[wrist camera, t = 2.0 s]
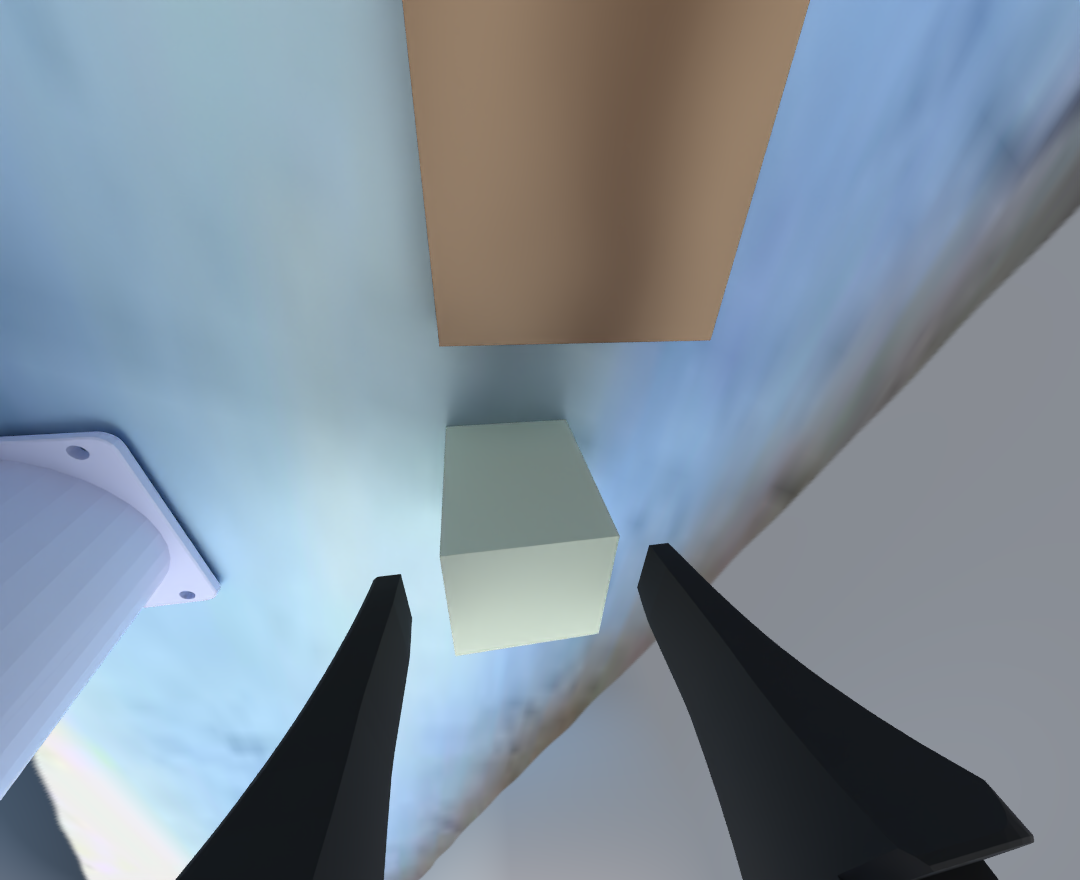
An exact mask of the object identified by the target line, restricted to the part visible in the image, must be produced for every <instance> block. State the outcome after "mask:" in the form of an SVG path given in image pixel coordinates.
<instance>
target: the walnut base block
mask: <svg viewBox="0 0 1080 880" xmlns="http://www.w3.org/2000/svg"><path fill="white" fill-rule="evenodd" d="M402 2H403V11H404V20H405V30H406V39H407V48H408V58H409V67H410V76H411V86H412V95H413V104H414V114H415V123H416V132H417V142H418V151H419V160H420V170H421V179H422V188H423V198H424V207H425V216H426V226H427V235H428V244H429V254H430V263H431V272H432V282H433V291H434V300H435V310H436V319H437V328H438V338H439V346H480V345H524V344H568V343H612V342H656V341H700V340H711V336H712V333H713V329H714V326H715V323H716V319H717V316H718V312H719V309H720V305H721V302H722V299H723V295H724V292H725V288H726V285H727V282H728V278H729V275H730V271H731V268H732V265H733V261H734V258H735V254H736V251H737V247H738V244H739V241H740V237H741V234H742V230H743V227H744V224H745V220H746V217H747V213H748V210H749V207H750V203H751V200H752V196H753V193H754V189H755V186H756V183H757V179H758V176H759V172H760V169H761V166H762V162H763V159H764V155H765V152H766V149H767V145H768V142H769V138H770V135H771V132H772V128H773V125H774V121H775V118H776V114H777V111H778V108H779V104H780V101H781V97H782V94H783V91H784V87H785V84H786V80H787V77H788V74H789V70H790V67H791V63H792V60H793V56H794V53H795V50H796V46H797V43H798V39H799V36H800V33H801V29H802V26H803V22H804V19H805V16H806V12H807V9H808V5H809V2H810V0H402Z"/></svg>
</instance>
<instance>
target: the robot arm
mask: <svg viewBox="0 0 1080 880" xmlns="http://www.w3.org/2000/svg"><path fill="white" fill-rule="evenodd" d="M80 447H82V448H84V449H85V450H86V451H84V450H82V449H81V448H80ZM87 451H88V452H87ZM220 588H221V586H220V584H219V582H218V581H217V579H216V578H215V576H214V575H213V574H212V572H211V571H210V569H209V568H208V566H207V565H206V563H205V562H204V560H203V559H202V557H201V556H200V554H199V553H198V551H197V550H196V548H195V547H194V545H193V544H192V542H191V541H190V540H189V538H188V537H187V535H186V534H185V532H184V531H183V529H182V528H181V526H180V525H179V523H178V522H177V520H176V519H175V517H174V516H173V514H172V513H171V511H170V510H169V508H168V507H167V506H166V504H165V503H164V501H163V500H162V498H161V497H160V495H159V494H158V492H157V491H156V489H155V488H154V486H153V485H152V483H151V482H150V480H149V479H148V477H147V476H146V474H145V473H144V472H143V470H142V469H141V467H140V466H139V464H138V463H137V461H136V460H135V458H134V457H133V455H132V454H131V452H130V451H129V449H128V448H127V446H126V445H125V444H124V443H123V442H122V441H121V439H119V438H118V437H116V436H114V435H112V434H109V433H106V432H78V433H59V434H41V435H22V436H4V437H0V800H1V799H2V798H3V796H4V795H5V794H6V792H7V791H8V790H9V788H10V787H11V785H12V784H13V783H14V781H15V780H16V779H17V777H18V776H19V775H20V773H21V772H22V771H23V769H24V768H25V767H26V765H27V764H28V763H29V761H30V760H31V758H32V757H33V756H34V754H35V753H36V752H37V750H38V749H39V748H40V746H41V745H42V744H43V742H44V741H45V740H46V738H47V737H48V735H49V734H50V733H51V731H52V730H53V729H54V727H55V726H56V725H57V723H58V722H59V721H60V719H61V718H62V717H63V715H64V714H65V713H66V711H67V710H68V708H69V707H70V706H71V704H72V703H73V702H74V700H75V699H76V698H77V696H78V695H79V694H80V692H81V691H82V690H83V688H84V687H85V686H86V684H87V683H88V681H89V680H90V679H91V677H92V676H93V675H94V673H95V672H96V671H97V669H98V668H99V667H100V665H101V664H102V663H103V661H104V660H105V658H106V657H107V656H108V654H109V653H110V652H111V650H112V649H113V648H114V646H115V645H116V644H117V642H118V641H119V640H120V638H121V637H122V636H123V634H124V633H125V631H126V630H127V629H128V627H129V626H130V625H131V623H132V622H133V621H134V619H135V618H136V617H137V615H138V614H139V613H140V611H141V610H142V609H143V608H147V607H155V606H163V605H171V604H179V603H188V602H196V601H204V600H209V599H213V598H214V597H216V595H217V594H218V592H219V590H220ZM637 588H638V592H639V595H640V598H641V601H642V605H643V608H644V611H645V614H646V617H647V620H648V622H649V625H650V627H651V629H652V631H653V634H654V636H655V638H656V640H657V643H658V645H659V647H660V649H661V651H662V654H663V656H664V658H665V660H666V662H667V665H668V667H669V669H670V671H671V673H672V675H673V678H674V680H675V682H676V684H677V687H678V689H679V691H680V693H681V695H682V698H683V700H684V702H685V705H686V707H687V710H688V712H689V714H690V717H691V720H692V722H693V725H694V728H695V731H696V734H697V736H698V739H699V742H700V745H701V748H702V751H703V753H704V756H705V759H706V762H707V765H708V768H709V771H710V774H711V777H712V780H713V783H714V786H715V789H716V792H717V795H718V798H719V801H720V805H721V808H722V811H723V814H724V818H725V821H726V824H727V827H728V831H729V834H730V837H731V840H732V843H733V847H734V850H735V853H736V857H737V861H738V864H739V868H740V871H741V875H742V878H743V880H998V878H997V877H996V876H995V874H994V873H993V872H992V870H991V869H990V868H989V867H988V865H987V864H986V863H985V861H984V859H987V858H990V857H993V856H996V855H998V854H1002V853H1005V852H1008V851H1010V850H1014V849H1017V848H1019V847H1022V846H1025V845H1028V844H1031V843H1033V842H1034V838H1033V835H1032V834H1031V833H1030V831H1029V830H1028V829H1027V828H1026V827H1025V826H1024V824H1022V822H1021V821H1020V820H1019V819H1018V818H1017V817H1016V815H1015V814H1014V813H1013V812H1012V811H1011V810H1010V809H1009V807H1008V806H1007V805H1006V804H1005V803H1004V802H1003V801H1002V799H1001V798H999V796H998V795H997V794H996V793H995V791H994V790H993V789H992V788H991V787H990V786H989V785H988V784H987V783H986V782H985V781H984V780H983V779H981V778H980V777H978V776H976V775H974V774H973V773H971V772H969V771H967V770H966V769H964V768H962V767H961V766H959V765H957V764H955V763H953V762H952V761H950V760H948V759H947V758H945V757H943V756H941V755H940V754H938V753H936V752H934V751H933V750H931V749H929V748H927V747H926V746H924V745H922V744H921V743H919V742H917V741H916V740H914V739H912V738H911V737H909V736H908V735H906V734H904V733H903V732H901V731H900V730H898V729H896V728H894V727H893V726H892V725H890V724H888V723H887V722H885V721H883V720H882V719H880V718H879V717H877V716H876V715H874V714H873V713H871V712H869V711H868V710H867V709H865V708H864V707H862V706H861V705H859V704H858V703H856V702H855V701H853V700H852V699H850V698H849V697H848V696H846V695H845V694H843V693H842V692H840V691H839V690H837V689H836V688H835V687H833V686H832V685H830V684H829V683H827V682H826V681H824V680H823V679H822V678H820V677H819V676H818V675H816V674H815V673H813V672H812V671H811V670H809V669H808V668H807V667H805V666H804V665H803V664H802V663H800V662H799V661H798V660H796V659H795V658H794V657H792V656H791V655H790V654H789V653H787V652H786V651H785V650H783V649H782V648H780V646H778V645H777V644H776V643H775V642H773V641H772V640H771V639H770V638H768V637H767V636H766V635H765V634H764V633H762V631H760V630H759V629H758V628H757V627H756V626H755V625H754V624H752V623H751V622H750V621H749V620H748V619H747V618H745V617H744V616H743V615H742V614H741V613H740V612H739V611H738V610H737V609H736V608H734V607H733V606H732V605H731V604H730V603H729V602H728V601H727V600H726V599H725V598H724V597H723V596H722V595H721V594H720V593H718V592H717V591H716V590H715V589H714V588H713V587H712V586H711V585H710V584H709V583H708V582H707V581H706V580H705V579H704V578H703V577H702V576H701V575H700V574H699V573H698V572H697V571H696V570H695V569H694V568H693V567H692V566H691V565H690V564H689V563H688V562H687V561H686V560H685V559H684V558H683V557H682V556H681V555H680V554H679V553H678V552H677V551H676V550H675V549H674V548H673V547H672V546H671V545H670V544H669V543H665V544H656V545H649V548H648V552H647V555H646V559H645V562H644V566H643V569H642V573H641V576H640V580H639V583H638V587H637ZM411 626H412V616H411V612H410V608H409V605H408V601H407V597H406V593H405V589H404V585H403V581H402V577H401V574H398V575H389V576H381V577H377V578H375V579H374V580H373V583H372V585H371V587H370V589H369V592H368V594H367V596H366V598H365V600H364V602H363V604H362V606H361V608H360V610H359V612H358V614H357V616H356V618H355V620H354V622H353V624H352V626H351V628H350V630H349V631H348V633H347V635H346V637H345V639H344V640H343V642H342V644H341V646H340V648H339V649H338V651H337V653H336V655H335V657H334V658H333V660H332V662H331V664H330V665H329V667H328V669H327V670H326V672H325V674H324V675H323V677H322V679H321V680H320V682H319V683H318V685H317V687H316V688H315V690H314V692H313V693H312V695H311V696H310V698H309V700H308V701H307V703H306V704H305V706H304V708H303V709H302V711H301V712H300V714H299V715H298V717H297V718H296V720H295V721H294V723H293V724H292V726H291V727H290V729H289V730H288V732H287V733H286V735H285V736H284V738H283V739H282V741H281V742H280V744H279V745H278V746H277V748H276V749H275V751H274V752H273V754H272V755H271V756H270V758H269V759H268V761H267V762H266V764H265V765H264V766H263V768H262V769H261V770H260V772H259V773H258V774H257V776H256V777H255V779H254V780H253V781H252V783H251V784H250V785H249V787H248V788H247V789H246V791H245V792H244V793H243V795H242V796H241V797H240V799H239V800H238V802H237V803H236V804H235V806H234V807H233V808H232V809H231V811H230V812H229V813H228V815H227V816H226V817H225V819H224V820H223V821H222V822H221V824H220V825H219V826H218V828H217V829H216V830H215V831H214V833H213V834H212V835H211V836H210V838H209V839H208V840H207V841H206V843H205V844H204V845H203V846H202V848H201V849H200V850H199V851H198V853H197V854H196V855H195V856H194V857H193V859H192V860H191V861H190V862H189V864H188V865H187V866H186V867H185V869H184V870H183V871H182V872H181V874H180V875H179V876H178V877H177V878H176V880H384V868H385V853H386V839H387V825H388V813H389V800H390V788H391V776H392V768H393V760H394V752H395V746H396V740H397V734H398V727H399V721H400V715H401V709H402V703H403V696H404V690H405V684H406V678H407V671H408V665H409V658H410V644H411Z"/></svg>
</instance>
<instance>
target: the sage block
mask: <svg viewBox="0 0 1080 880" xmlns="http://www.w3.org/2000/svg"><path fill="white" fill-rule="evenodd" d="M618 541H619V534H618V532H617V529H616V527H615V525H614V523H613V521H612V519H611V516H610V514H609V512H608V510H607V508H606V506H605V503H604V501H603V499H602V497H601V495H600V493H599V490H598V488H597V486H596V484H595V482H594V480H593V477H592V475H591V473H590V471H589V469H588V467H587V464H586V462H585V460H584V458H583V456H582V454H581V451H580V449H579V447H578V445H577V443H576V441H575V438H574V436H573V434H572V432H571V430H570V428H569V425H568V423H567V421H566V419H565V420H549V421H532V422H515V423H498V424H481V425H465V426H448V427H446V436H445V457H444V477H443V498H442V519H441V540H440V562H441V568H442V574H443V580H444V587H445V593H446V599H447V605H448V612H449V618H450V624H451V630H452V637H453V643H454V649H455V655H456V656H459V655H466V654H472V653H478V652H485V651H491V650H497V649H504V648H510V647H516V646H523V645H529V644H535V643H542V642H548V641H554V640H561V639H567V638H573V637H580V636H586V635H592V634H598V633H599V628H600V624H601V619H602V615H603V610H604V605H605V601H606V596H607V591H608V587H609V582H610V578H611V573H612V568H613V564H614V559H615V554H616V550H617V545H618Z"/></svg>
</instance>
